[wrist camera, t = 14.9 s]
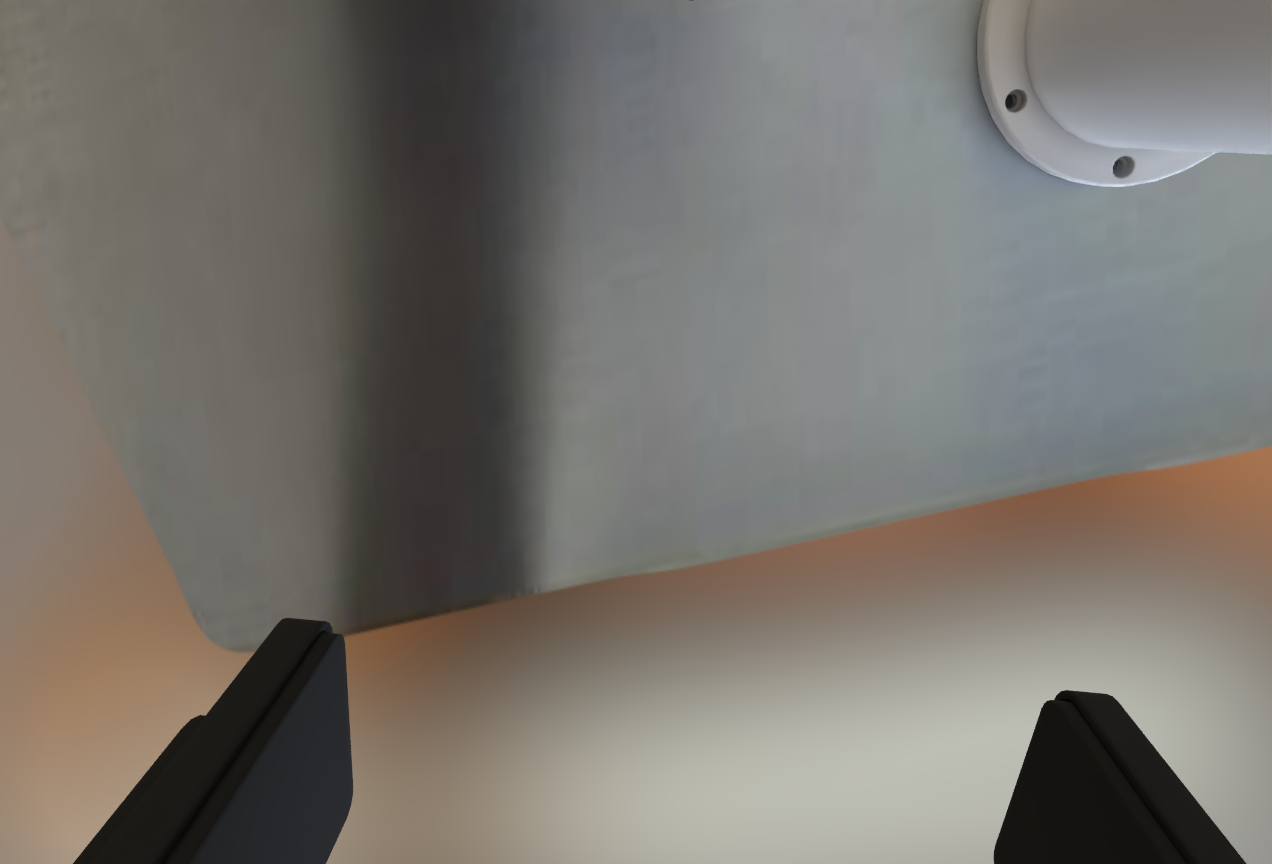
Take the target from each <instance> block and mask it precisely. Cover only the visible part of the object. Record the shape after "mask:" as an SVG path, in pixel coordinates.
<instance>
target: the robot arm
mask: <svg viewBox="0 0 1272 864" xmlns="http://www.w3.org/2000/svg"><path fill="white" fill-rule="evenodd" d="M977 65H978V71H979V77H980V83H981V89H982V93H983V96H984V98H985V101H986V104H987V106H988V109H989V111H990V114H991V117H992V119H993V121H994V122H995V124H996V125H997V127H998V128H999V130H1000V131H1001V133H1002V134H1003V136H1004V138H1005V139H1006V141H1007V142H1008V143H1009V144H1010V145H1011V146H1012V147H1013V148H1014V149H1015V150H1016V151H1017V152H1018V153H1019V154H1020V155H1021V156H1022V157H1023V158H1024V159H1026V160H1027V161H1028V162H1030V163H1032V164H1033V165H1035V166H1037V167H1038V168H1040V169H1041V170H1043V171H1045V172H1046V173H1048V174H1050V175H1053V176H1056V177H1059V178H1062V179H1065V180H1068V181H1071V182H1074V183H1082V184H1088V185H1094V186H1110V187H1124V186H1131V185H1137V184H1142V183H1148V182H1153V181H1157V180H1160V179H1163V178H1166V177H1168V176H1171V175H1174V174H1176V173H1179V172H1182V171H1185V170H1187V169H1188V168H1190V167H1192V166H1194V165H1196V164H1197V163H1199V162H1201V161H1203V160H1205V159H1206V158H1208V157H1210V156H1212V155H1213V154H1215V153H1216V152H1228V153H1251V154H1272V0H983V4H982V10H981V15H980V20H979V25H978V35H977ZM1008 95H1011V97H1012V98H1013V103H1012V105H1011V106H1010V107H1009V108H1007V107H1006V105H1005V100H1006V97H1007V96H1008ZM1115 161H1117V165H1118V166H1117V168H1116V170H1115V171H1113V165H1114V163H1115ZM350 743H351V741H350V724H349V707H348V689H347V672H346V653H345V642H344V637H343V635H341V634H333V632H332V627H331V625H330V623H328V622H326V621H315V620H304V619H293V618H285V619H282V620H281V621H280V622H279V623H278V624H277V625H276V627H275V628H274V629H273V630H272V632H271V633H270V634H269V635H268V637H267V638H266V639H265V641H264V642H263V643H262V644H261V646H260V647H259V648H258V650H257V651H256V652H255V653H254V655H253V656H252V657H251V658H250V660H249V661H248V662H247V664H246V665H245V666H244V667H243V669H242V670H241V671H240V673H239V674H238V675H237V676H236V678H235V679H234V680H233V681H232V683H231V684H230V685H229V687H228V688H227V689H226V690H225V692H224V693H223V694H222V696H221V697H220V698H219V700H218V701H217V702H216V703H215V705H214V706H213V707H212V708H211V710H210V711H209V712H208V713H207V715H206V716H202V715H199V716H197V717H195V718H193V719H191V720H190V721H189V722H188V723H187V724H186V725H185V726H184V727H183V728H182V729H181V730H180V731H179V733H178V734H177V735H176V737H175V738H174V739H173V740H172V741H171V743H170V744H169V745H168V747H167V748H166V749H165V750H164V752H163V753H162V754H161V755H160V756H159V757H158V759H157V760H156V761H155V762H154V764H153V765H152V766H151V767H150V769H149V770H148V771H147V772H146V774H145V775H144V776H143V777H142V779H141V780H140V781H139V782H138V784H137V785H136V786H135V787H134V789H133V790H132V791H131V792H130V794H129V795H128V796H127V797H126V799H125V800H124V801H123V802H122V803H121V805H120V806H119V807H118V808H117V810H116V811H115V812H114V813H113V815H112V816H111V817H110V818H109V819H108V821H107V822H106V823H105V825H104V826H103V827H102V828H101V829H100V831H99V832H98V833H97V835H96V836H95V837H94V838H93V839H92V841H91V842H90V843H89V844H88V846H87V847H86V848H85V849H84V850H83V852H82V853H81V855H80V856H79V857H78V858H77V859H76V860H75V862H74V863H73V864H326V862H327V860H328V858H329V856H330V853H331V851H332V849H333V847H334V845H335V843H336V840H337V838H338V836H339V834H340V832H341V830H342V827H343V825H344V823H345V821H346V819H347V816H348V813H349V810H350V806H351V802H352V796H353V778H352V760H351V744H350ZM994 864H1246V863H1245V861H1244V860H1243V859H1242V858H1241V856H1240V855H1239V854H1238V853H1237V851H1236V850H1235V849H1234V847H1233V846H1232V845H1231V844H1230V842H1229V841H1228V840H1227V839H1226V837H1225V836H1224V835H1223V834H1222V832H1221V831H1220V830H1219V829H1218V827H1217V826H1216V825H1215V824H1214V822H1213V821H1212V820H1211V818H1210V817H1209V816H1208V815H1207V813H1206V812H1205V811H1204V810H1203V808H1202V807H1201V806H1200V804H1199V803H1198V802H1197V801H1196V799H1195V798H1194V797H1193V796H1192V794H1191V793H1190V792H1189V791H1188V789H1187V788H1186V787H1185V786H1184V784H1183V783H1182V782H1181V781H1180V779H1179V778H1178V777H1177V775H1176V774H1175V773H1174V772H1173V770H1172V769H1171V768H1170V767H1169V765H1168V764H1167V763H1166V762H1165V760H1164V759H1163V758H1162V757H1161V756H1160V754H1159V753H1158V752H1157V750H1156V749H1155V748H1154V746H1153V745H1152V744H1151V743H1150V741H1149V740H1148V739H1147V738H1146V736H1145V735H1144V734H1143V733H1142V731H1141V730H1140V729H1139V728H1138V726H1137V725H1136V724H1135V722H1134V721H1133V720H1132V719H1131V718H1130V716H1129V715H1128V714H1127V713H1126V711H1125V710H1124V709H1123V707H1122V706H1121V705H1120V704H1119V702H1118V701H1117V700H1116V699H1115V698H1114V697H1113V696H1110V695H1108V694H1101V693H1089V692H1079V691H1068V690H1065V691H1061V692H1060V693H1059V694H1058V695H1057V696H1056V698H1055V700H1050V701H1047V702H1046V703H1045V704H1044V705H1043V707H1042V709H1041V712H1040V715H1039V718H1038V721H1037V724H1036V727H1035V730H1034V733H1033V736H1032V739H1031V742H1030V744H1029V747H1028V751H1027V753H1026V756H1025V759H1024V762H1023V765H1022V769H1021V771H1020V774H1019V777H1018V780H1017V783H1016V786H1015V789H1014V792H1013V795H1012V798H1011V801H1010V804H1009V807H1008V810H1007V813H1006V816H1005V819H1004V822H1003V825H1002V827H1001V831H1000V833H999V836H998V839H997V842H996V845H995V850H994Z"/></svg>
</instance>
